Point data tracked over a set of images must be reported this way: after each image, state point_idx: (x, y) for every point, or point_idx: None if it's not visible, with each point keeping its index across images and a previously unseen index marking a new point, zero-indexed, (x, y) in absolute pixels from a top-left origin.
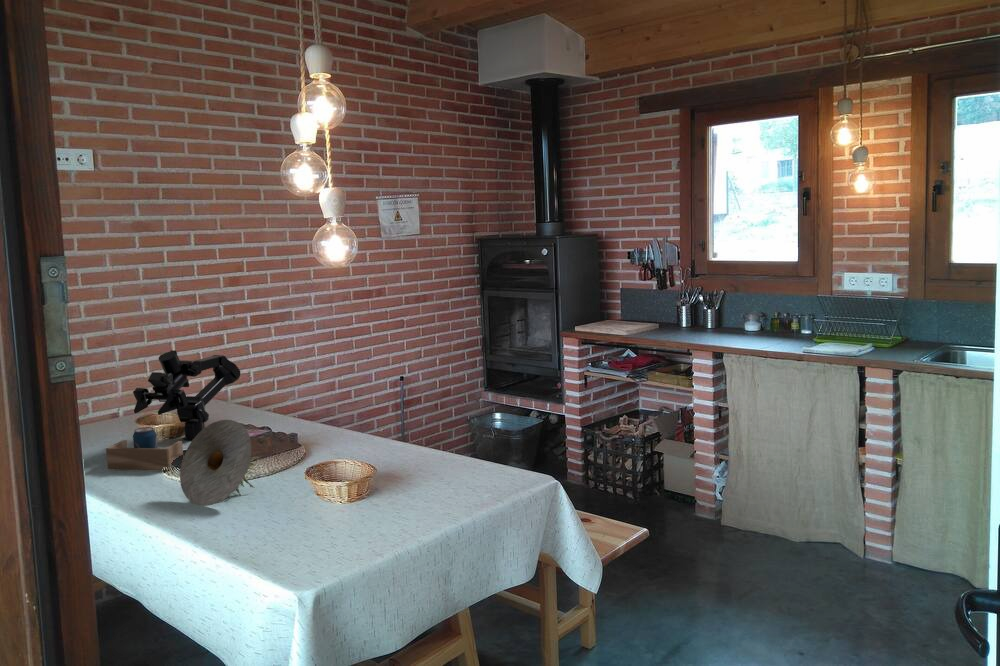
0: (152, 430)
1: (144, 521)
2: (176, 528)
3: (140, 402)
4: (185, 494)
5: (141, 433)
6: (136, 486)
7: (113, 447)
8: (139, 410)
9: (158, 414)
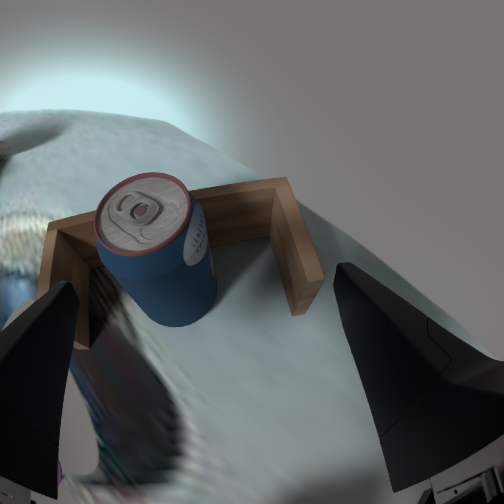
0: (97, 224)
1: (50, 109)
2: (18, 116)
3: (408, 356)
4: (9, 153)
5: (131, 182)
6: (108, 165)
7: (279, 201)
8: (352, 338)
9: (77, 297)
